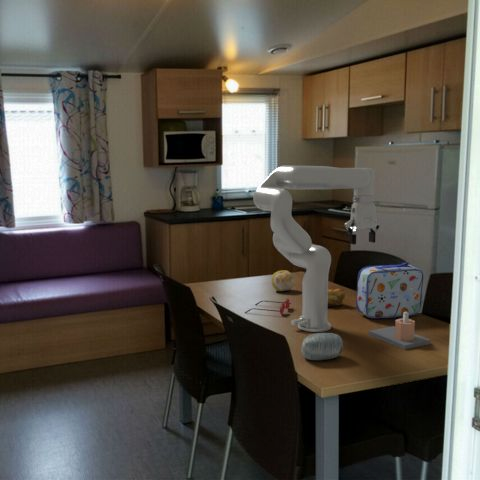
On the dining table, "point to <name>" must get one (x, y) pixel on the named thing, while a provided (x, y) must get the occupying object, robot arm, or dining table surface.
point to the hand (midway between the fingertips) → (362, 243)
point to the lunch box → (389, 290)
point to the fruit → (282, 280)
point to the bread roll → (335, 297)
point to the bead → (404, 330)
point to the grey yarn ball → (322, 346)
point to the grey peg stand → (389, 337)
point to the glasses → (276, 310)
